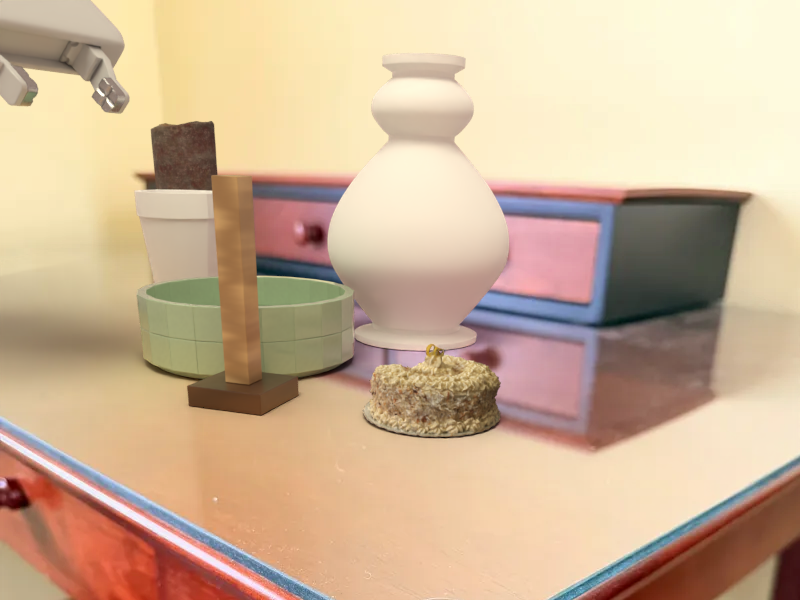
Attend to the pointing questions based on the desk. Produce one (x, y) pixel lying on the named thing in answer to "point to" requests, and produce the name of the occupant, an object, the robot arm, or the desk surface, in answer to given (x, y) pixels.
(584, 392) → the desk surface
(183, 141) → the dark brown tall block
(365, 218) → the decorative vase
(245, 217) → the wooden post stand
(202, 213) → the white flower pot
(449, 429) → the cake
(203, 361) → the bowl
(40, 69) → the robot arm
